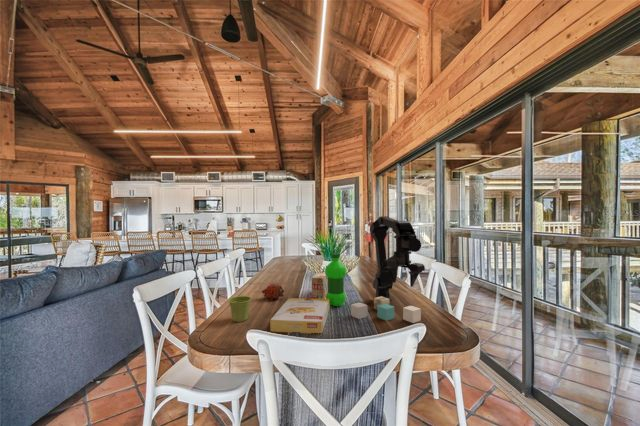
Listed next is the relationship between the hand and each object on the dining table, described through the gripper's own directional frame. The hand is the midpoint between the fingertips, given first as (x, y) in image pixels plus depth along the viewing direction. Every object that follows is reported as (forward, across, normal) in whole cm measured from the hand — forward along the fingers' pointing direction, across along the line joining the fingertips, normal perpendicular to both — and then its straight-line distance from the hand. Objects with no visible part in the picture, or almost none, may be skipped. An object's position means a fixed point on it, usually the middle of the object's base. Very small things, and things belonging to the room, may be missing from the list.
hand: (402, 284), depth 126 cm
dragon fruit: (+13, -56, -36) cm, 67 cm away
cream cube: (+13, +6, -3) cm, 15 cm away
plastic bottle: (+13, -28, -16) cm, 35 cm away
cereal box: (+14, -22, -39) cm, 46 cm away
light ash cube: (+13, -10, -2) cm, 17 cm away
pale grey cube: (+13, -10, -17) cm, 24 cm away
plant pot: (+13, -37, -60) cm, 72 cm away
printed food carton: (+13, -45, -11) cm, 48 cm away
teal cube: (+13, -2, -9) cm, 16 cm away
